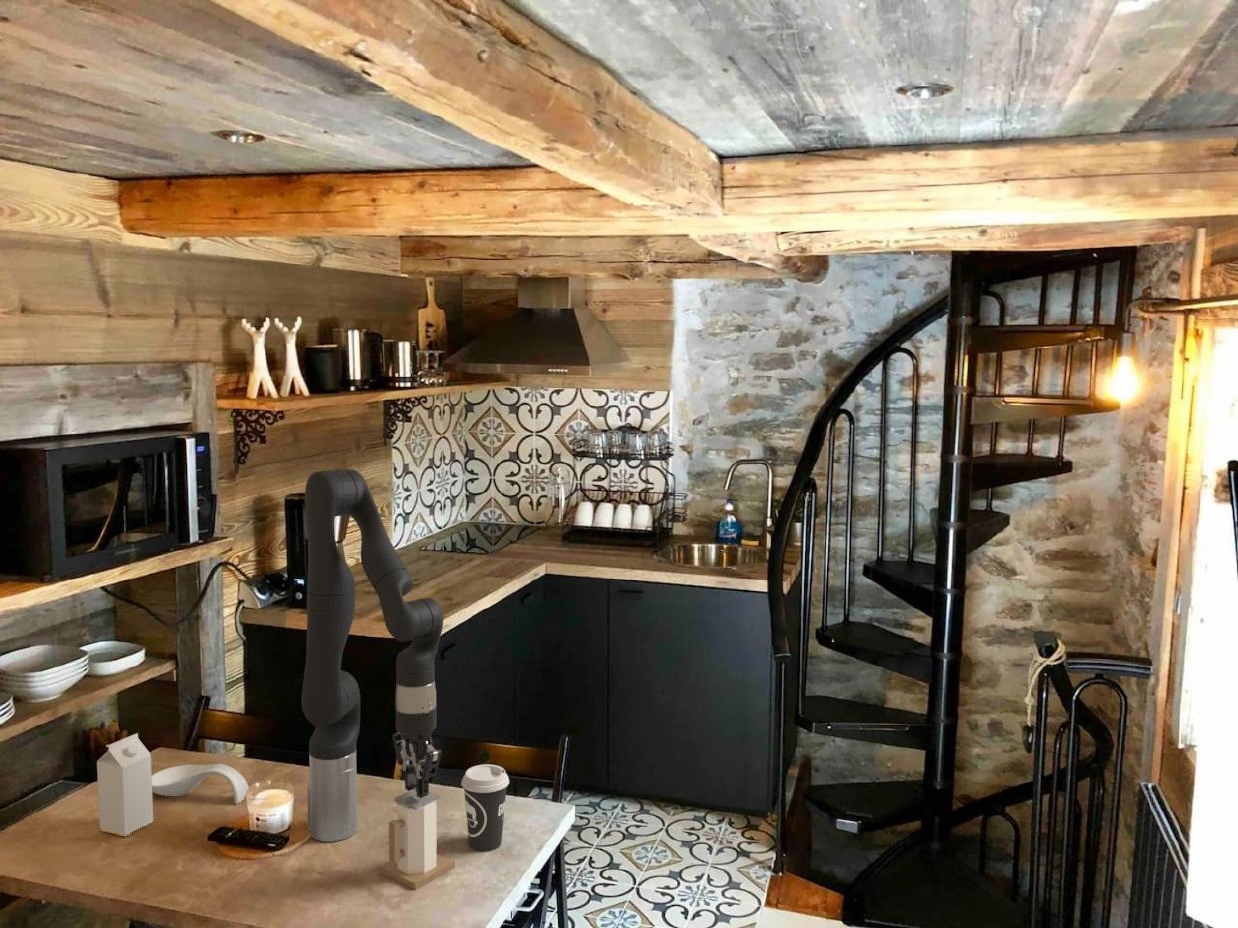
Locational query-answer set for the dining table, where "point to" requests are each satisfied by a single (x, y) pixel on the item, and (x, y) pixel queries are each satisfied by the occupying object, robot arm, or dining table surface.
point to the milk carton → (125, 786)
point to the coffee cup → (485, 805)
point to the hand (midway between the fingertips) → (416, 792)
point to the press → (415, 842)
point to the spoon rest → (196, 779)
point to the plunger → (413, 781)
